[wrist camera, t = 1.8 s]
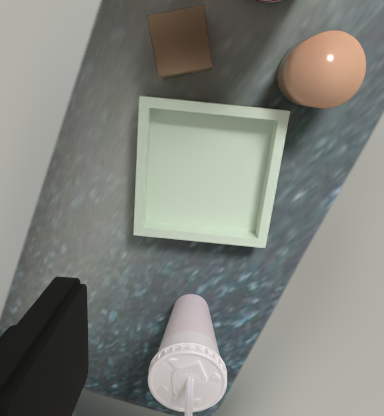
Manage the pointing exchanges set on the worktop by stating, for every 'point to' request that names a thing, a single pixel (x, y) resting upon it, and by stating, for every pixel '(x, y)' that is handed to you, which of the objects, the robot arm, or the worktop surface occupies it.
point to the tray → (207, 170)
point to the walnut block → (180, 41)
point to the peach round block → (322, 70)
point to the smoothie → (188, 360)
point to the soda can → (268, 1)
